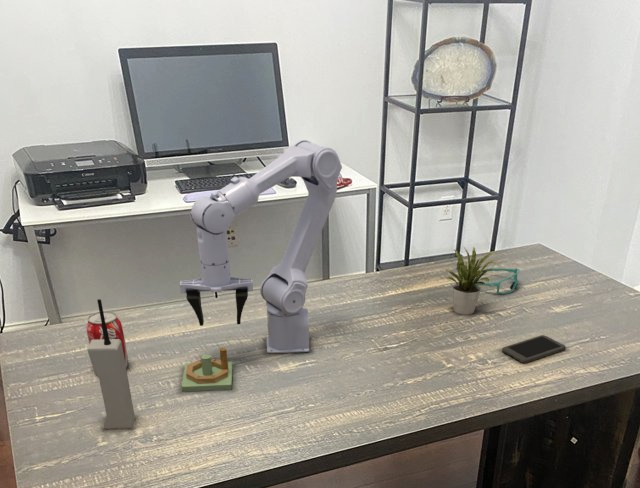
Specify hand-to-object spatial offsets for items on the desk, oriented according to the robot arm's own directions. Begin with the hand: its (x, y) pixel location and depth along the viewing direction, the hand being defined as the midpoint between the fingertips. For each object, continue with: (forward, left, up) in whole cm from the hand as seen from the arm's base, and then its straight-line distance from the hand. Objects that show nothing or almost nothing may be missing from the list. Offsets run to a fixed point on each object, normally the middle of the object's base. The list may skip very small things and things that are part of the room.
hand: (220, 323), depth 143 cm
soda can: (+24, +1, -10) cm, 26 cm away
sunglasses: (-72, -40, -10) cm, 84 cm away
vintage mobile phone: (+19, +23, -10) cm, 31 cm away
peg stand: (+3, +7, -10) cm, 12 cm away
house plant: (-61, -23, -10) cm, 67 cm away
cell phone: (-70, 0, -10) cm, 71 cm away
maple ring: (+3, +7, -8) cm, 11 cm away
